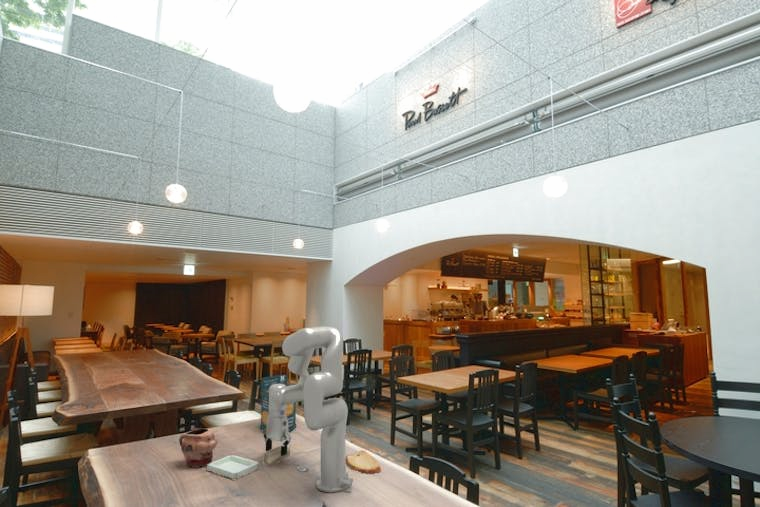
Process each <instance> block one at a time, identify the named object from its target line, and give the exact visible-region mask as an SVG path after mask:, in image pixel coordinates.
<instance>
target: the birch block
mask: <svg viewBox="0 0 760 507" xmlns="http://www.w3.org/2000/svg"><path fill="white" fill-rule="evenodd" d="M281 446H282V444H281V445H279V446H276V447H274V448H272V449H271V450H269V451H265V452H263V454H262V456H263V457H262V458H263V459H262V465H263V464H264V465H263V466H266V465H268V466H267V467H269V466H270V467H272V466H274V465H276V464H278V463H280V462H279V461H281V460H283V461H285V460H287V459H289V458H290V457H291V446H290V445H289V444H288V445H287V454H286V455H284V456H281ZM288 457H289V458H288ZM286 458H287V459H286ZM284 459H285V460H284ZM277 462H278V463H277ZM281 462H282V461H281ZM275 463H276V464H275ZM273 464H274V465H273ZM271 465H272V466H271Z"/></svg>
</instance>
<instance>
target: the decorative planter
mask: <svg viewBox="0 0 760 507" xmlns="http://www.w3.org/2000/svg"><path fill="white" fill-rule="evenodd" d="M178 443H179V446H180V449H181V452H182V454H183V457H184V459H185V462H186V466H187V465H188V466H187V467H189V466H192V467H191V468H200V467H199V466H202V467H205V466H207V465H206V464H209V463H210V462H211V463H212V462H213V457H214V456H213V450H215V448H216V447H217V445H218V440H217V438H216V437H215V434H214V433H213V430H212V429H209V428H196V429H193V430H190V431H187V432H186V433H183V434H181V435H180V437H179V438H178ZM204 465H205V466H204Z"/></svg>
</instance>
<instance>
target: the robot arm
mask: <svg viewBox="0 0 760 507" xmlns="http://www.w3.org/2000/svg"><path fill="white" fill-rule="evenodd" d="M343 339H344V338H343V335H342V333H341V331H340V330H339V329H337V328H336V327H334V326H323V325H322V326H315V327H314V326H313V327H304V328H301V329H299V330H297V331H295V332H293V333H291V334H289V335H287V337H285V339H284V340H283V342H282V346H281V347H282V348H281V350H282V353H283V355H284V356H286V357H289V358H290V359H289V361H288V364H287V368H288V370H289V371H290V372H291V373H293V374H294V375H297V376H299V379H298V381H297V383H296V384H292V385H289V386H287V387H286V386H285V385H284V384H273V385H271V386H270V388H269V415H268V419H267V426H266V429H264V430H263V431H262V434H263V435H262V436H263V438H264V443H265V452H267V451H269V450H272V449H273V441H276V442H280V444H281V445H282V446H281V445H280V446H281V456H284V455H286V454H287V445H288V446H289V444H290V442H291V440H292V438H293V437H292V435H291V434H290V432H289V433H288V419H287V416H286V405H288V404H291V403H295V402H296V403H299V402H302V401H303V414H304V423H305V426H306V427H307V428H308V429H309V430H311V431H320V430H322V431H321V435H320V478H318V479H317V481H316V488H317V489H318V491H321V492H324V493H337V492H341V491H344V490H347V488H349V487H350V488H351V487H352V485H353V482H354V478H352V477H349V472H348V471H346V470H347V469H346V468H347V465H346V456H347V455H346V429H347V422H348V421H347V420H348V415H349V414H348V413H349V408H348V405H347V403H346V402H345V400H344V399H342V398H340V397H333V398H328V397H331V396H335V395H338V394H340V393H341V391H342V390H343V388H344V387H343V385H344V378H343V377H344V376H343V372H344V371H343V350H344V340H343ZM322 348H325V349H324V351H323V352H322V355H321V358H320V371H317V372H314V373H311V374H310V372H309V371H308V367H309V365H310V362H311V360H312V358H313V354H314V351H315V349H322ZM324 398H328V399H324ZM272 440H273V441H272Z"/></svg>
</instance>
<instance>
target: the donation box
mask: <svg viewBox="0 0 760 507" xmlns="http://www.w3.org/2000/svg"><path fill="white" fill-rule="evenodd" d="M273 384H284V385H285V386H286V387H287V386H290V384H289V383H288V374H279V375H272V376H265V377H262V378H261V379H260V396H261V397H260V399H261V400H260V401H261V404H260V406H261V408H260V424H259V430H260V429H261V430H260V431H262V430H264V429H266V426H267V419H268V415H269V388H270V386H271V385H273ZM296 405H297V402H295V403H291V404H288V405H286V416H287V419H288V432H289V431H293V430H294V429H295V428H297V423H296V422H297V420H296V418H297V417H296V415H297V414H296V413H297V412H296V411H297V409H296V408H297V407H296ZM295 430H296V429H295ZM295 430H294V431H295ZM294 431H293V432H294ZM289 433H290V432H289Z"/></svg>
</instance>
